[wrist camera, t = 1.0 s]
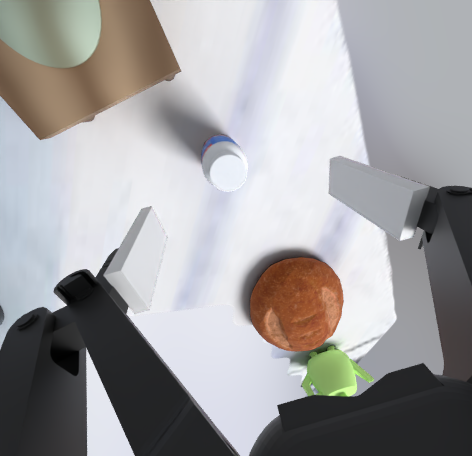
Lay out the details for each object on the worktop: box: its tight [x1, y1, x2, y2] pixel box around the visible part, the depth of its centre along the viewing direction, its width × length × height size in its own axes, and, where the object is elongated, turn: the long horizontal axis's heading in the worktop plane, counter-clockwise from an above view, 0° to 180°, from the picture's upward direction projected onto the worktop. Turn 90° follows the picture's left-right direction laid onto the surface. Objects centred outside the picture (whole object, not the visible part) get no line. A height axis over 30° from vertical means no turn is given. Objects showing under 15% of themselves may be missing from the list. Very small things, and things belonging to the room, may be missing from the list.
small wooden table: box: [0, 0, 181, 140], centre depth 17 cm, size 14×14×9 cm
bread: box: [250, 257, 344, 351], centre depth 46 cm, size 23×32×9 cm
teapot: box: [302, 345, 374, 396], centre depth 61 cm, size 20×13×13 cm
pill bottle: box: [201, 135, 248, 192], centre depth 25 cm, size 6×5×10 cm
